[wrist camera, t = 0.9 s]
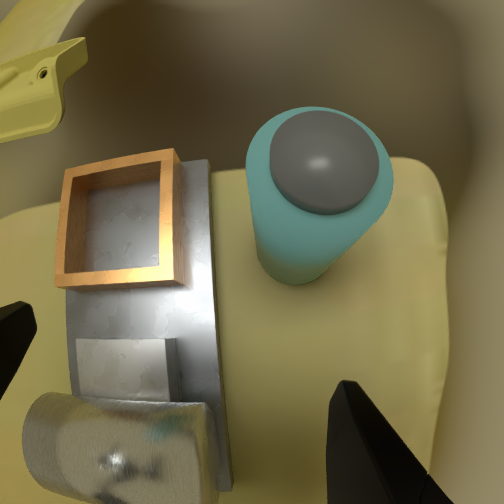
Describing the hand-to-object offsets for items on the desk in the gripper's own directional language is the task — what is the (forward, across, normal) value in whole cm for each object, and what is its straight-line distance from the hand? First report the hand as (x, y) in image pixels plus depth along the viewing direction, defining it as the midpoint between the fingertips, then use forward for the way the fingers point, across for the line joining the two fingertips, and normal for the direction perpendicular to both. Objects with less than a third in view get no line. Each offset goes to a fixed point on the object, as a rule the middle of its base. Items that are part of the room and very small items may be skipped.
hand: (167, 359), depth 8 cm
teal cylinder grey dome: (+14, -4, +2) cm, 15 cm away
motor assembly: (+10, +5, +9) cm, 15 cm away
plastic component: (+24, +29, -6) cm, 38 cm away
